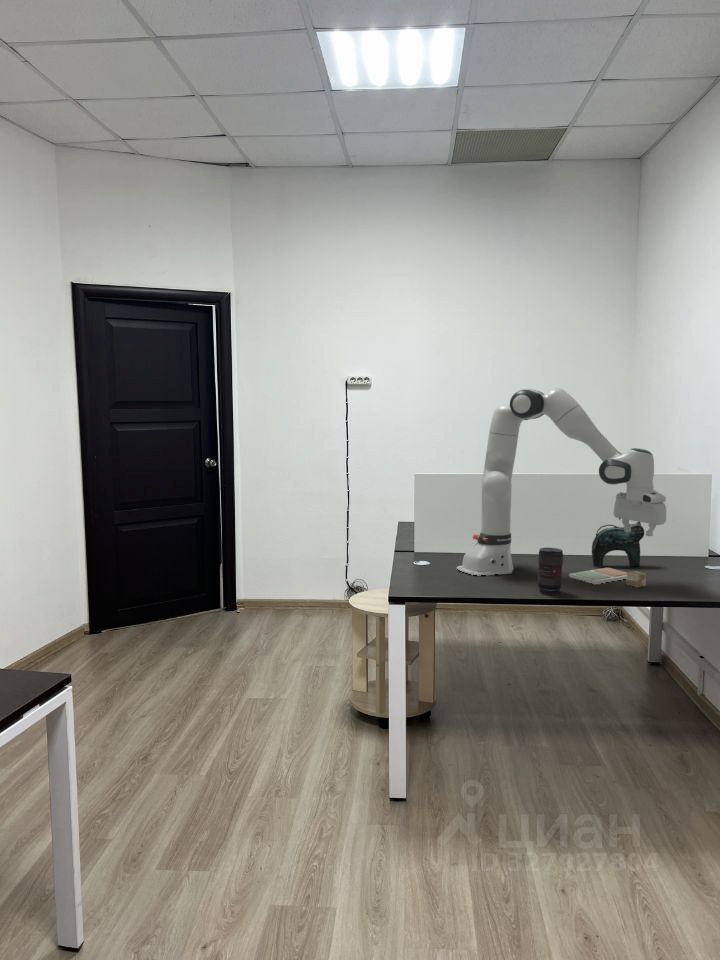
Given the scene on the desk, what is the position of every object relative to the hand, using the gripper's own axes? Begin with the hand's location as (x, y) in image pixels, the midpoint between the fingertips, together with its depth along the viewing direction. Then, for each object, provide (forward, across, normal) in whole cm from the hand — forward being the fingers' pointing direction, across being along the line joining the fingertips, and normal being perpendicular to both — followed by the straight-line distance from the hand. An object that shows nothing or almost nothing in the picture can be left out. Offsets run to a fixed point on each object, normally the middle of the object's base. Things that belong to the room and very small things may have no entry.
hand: (638, 533), depth 257 cm
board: (+19, -14, -2) cm, 23 cm away
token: (+19, 0, 0) cm, 19 cm away
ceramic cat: (+19, -24, +17) cm, 35 cm away
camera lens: (+19, -8, -33) cm, 39 cm away
